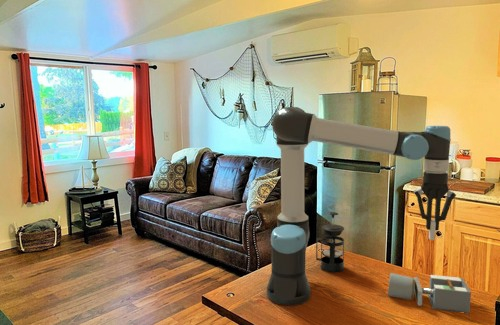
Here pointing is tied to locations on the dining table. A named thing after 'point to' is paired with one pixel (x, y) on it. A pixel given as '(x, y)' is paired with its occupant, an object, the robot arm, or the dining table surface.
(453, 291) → the grey bracket housing
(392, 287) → the ceramic mug
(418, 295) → the plunger
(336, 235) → the french press
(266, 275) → the dining table surface
